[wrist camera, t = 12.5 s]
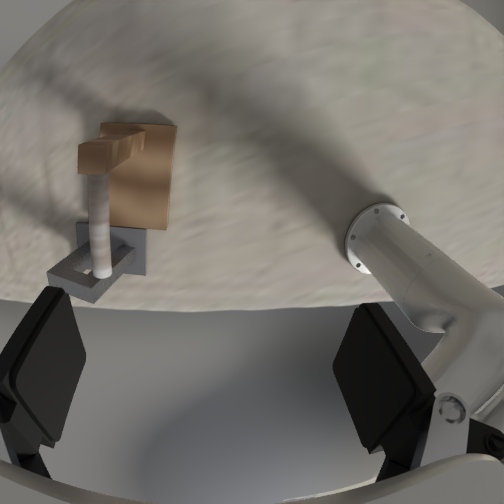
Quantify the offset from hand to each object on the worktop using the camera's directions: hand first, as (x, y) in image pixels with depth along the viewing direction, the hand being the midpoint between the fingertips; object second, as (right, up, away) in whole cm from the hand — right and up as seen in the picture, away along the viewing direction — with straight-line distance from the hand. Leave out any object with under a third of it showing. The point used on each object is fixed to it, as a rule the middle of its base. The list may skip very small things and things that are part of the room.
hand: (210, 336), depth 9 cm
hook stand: (-14, +13, +27) cm, 33 cm away
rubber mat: (-20, +3, +31) cm, 37 cm away
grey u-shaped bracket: (-19, +3, +31) cm, 36 cm away
